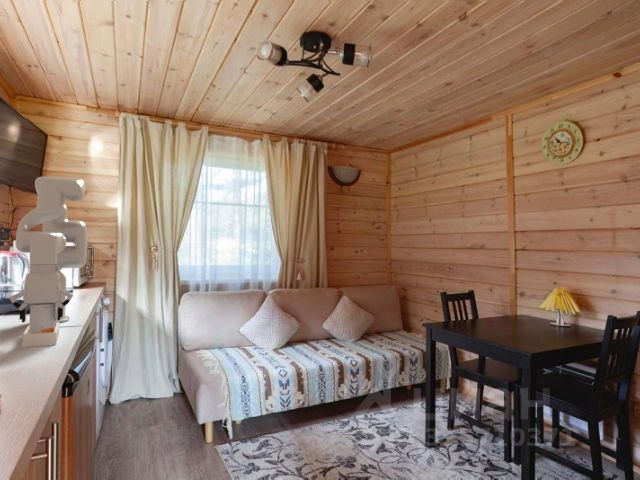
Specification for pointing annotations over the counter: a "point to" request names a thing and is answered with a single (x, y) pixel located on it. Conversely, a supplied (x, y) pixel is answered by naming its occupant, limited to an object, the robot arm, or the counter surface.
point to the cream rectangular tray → (40, 338)
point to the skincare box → (42, 318)
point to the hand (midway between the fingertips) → (41, 320)
